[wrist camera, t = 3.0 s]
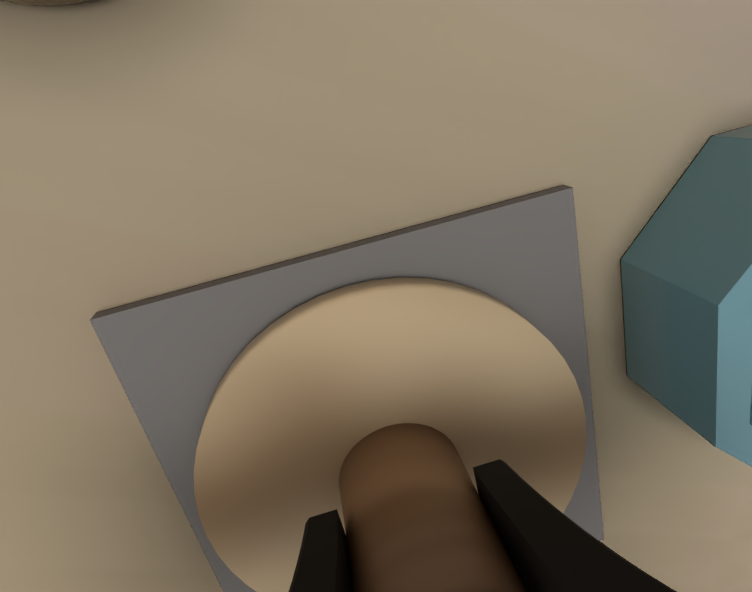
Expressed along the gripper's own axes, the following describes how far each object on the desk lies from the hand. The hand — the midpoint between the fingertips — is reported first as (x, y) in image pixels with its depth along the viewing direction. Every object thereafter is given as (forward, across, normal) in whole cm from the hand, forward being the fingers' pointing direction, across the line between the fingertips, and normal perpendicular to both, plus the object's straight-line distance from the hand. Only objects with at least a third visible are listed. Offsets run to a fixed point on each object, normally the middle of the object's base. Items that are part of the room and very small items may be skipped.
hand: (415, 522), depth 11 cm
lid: (+2, 0, 0) cm, 2 cm away
